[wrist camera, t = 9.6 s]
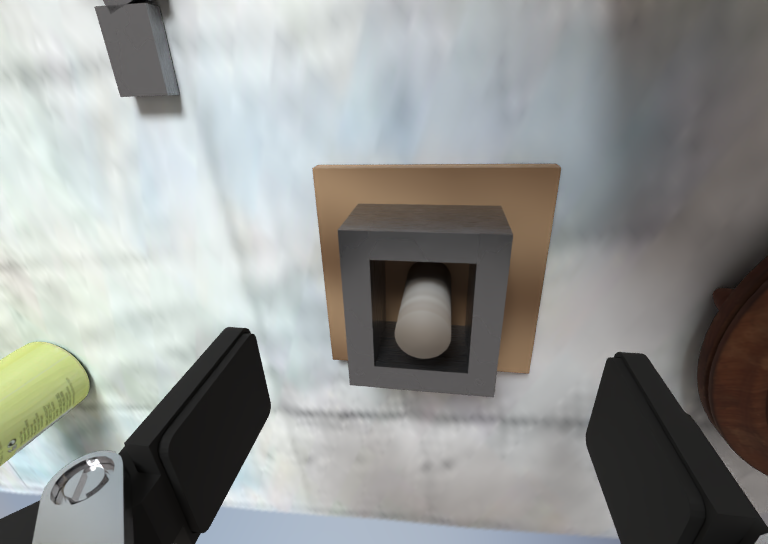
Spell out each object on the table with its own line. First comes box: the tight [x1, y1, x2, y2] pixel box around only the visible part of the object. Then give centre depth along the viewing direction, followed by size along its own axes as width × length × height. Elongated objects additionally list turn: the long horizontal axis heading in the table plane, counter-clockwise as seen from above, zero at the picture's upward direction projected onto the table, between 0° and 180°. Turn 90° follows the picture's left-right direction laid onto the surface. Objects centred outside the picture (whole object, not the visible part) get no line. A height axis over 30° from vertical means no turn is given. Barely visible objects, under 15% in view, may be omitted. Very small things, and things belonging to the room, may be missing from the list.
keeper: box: [312, 164, 561, 373], centre depth 16 cm, size 10×10×5 cm
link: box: [338, 204, 513, 397], centre depth 17 cm, size 7×6×4 cm
